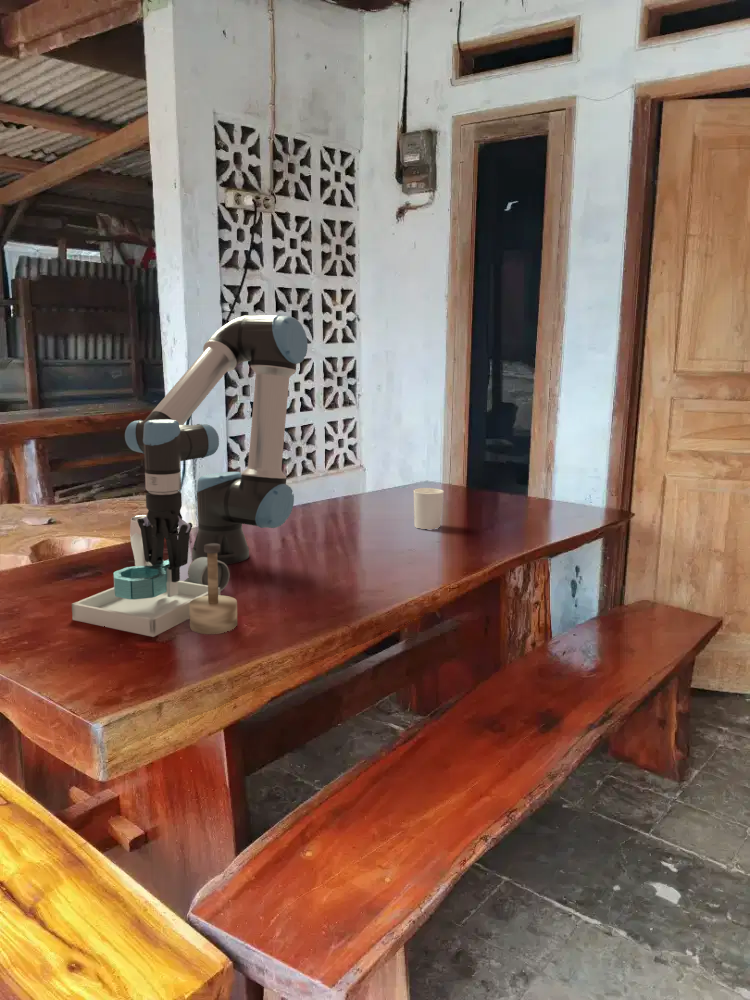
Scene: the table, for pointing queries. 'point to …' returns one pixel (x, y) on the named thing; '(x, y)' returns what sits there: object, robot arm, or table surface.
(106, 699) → the table surface
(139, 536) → the beer glass
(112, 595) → the tray
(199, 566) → the ceramic mug
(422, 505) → the candle holder
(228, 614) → the wooden peg stand
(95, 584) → the table surface
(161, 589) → the ring
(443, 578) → the table surface
